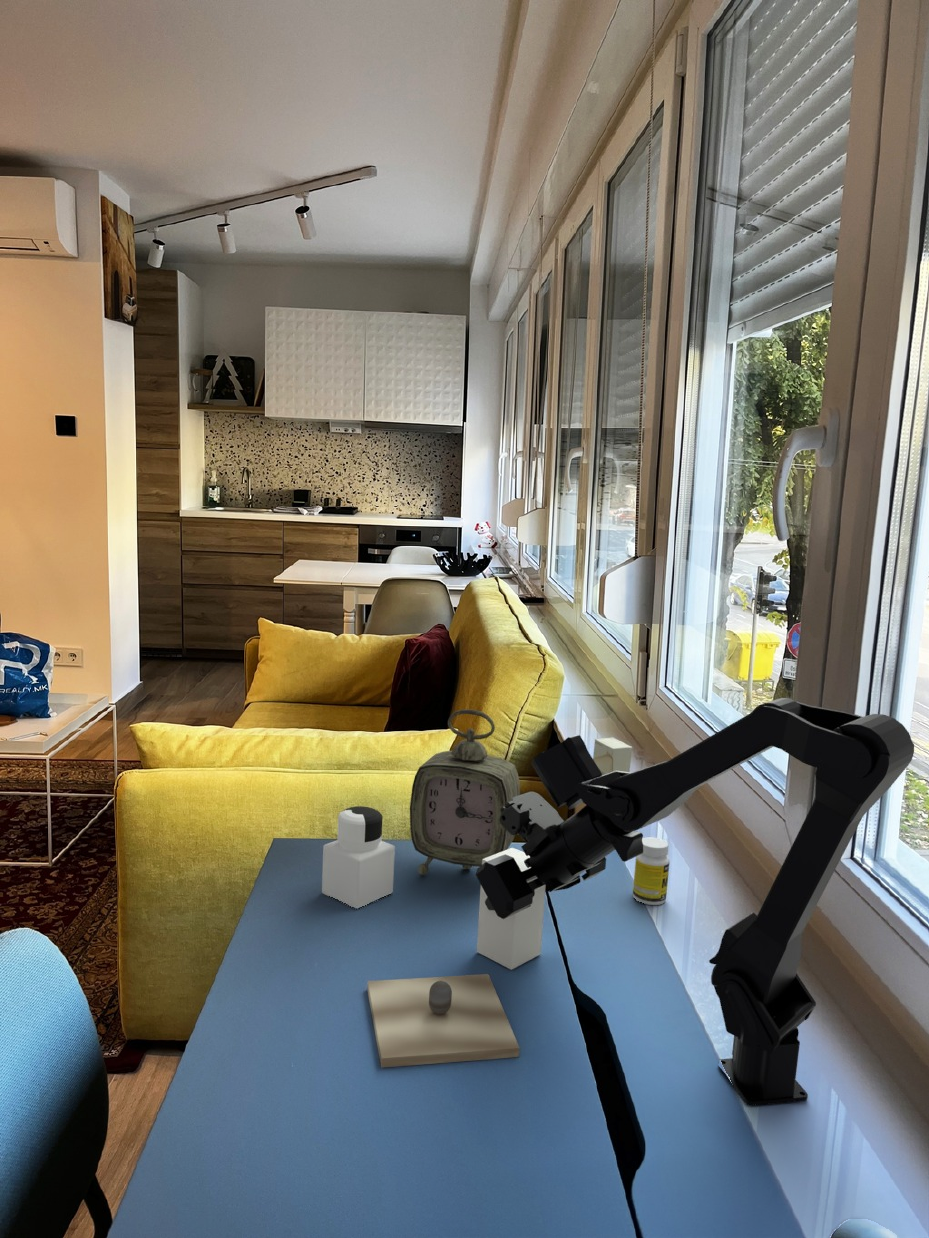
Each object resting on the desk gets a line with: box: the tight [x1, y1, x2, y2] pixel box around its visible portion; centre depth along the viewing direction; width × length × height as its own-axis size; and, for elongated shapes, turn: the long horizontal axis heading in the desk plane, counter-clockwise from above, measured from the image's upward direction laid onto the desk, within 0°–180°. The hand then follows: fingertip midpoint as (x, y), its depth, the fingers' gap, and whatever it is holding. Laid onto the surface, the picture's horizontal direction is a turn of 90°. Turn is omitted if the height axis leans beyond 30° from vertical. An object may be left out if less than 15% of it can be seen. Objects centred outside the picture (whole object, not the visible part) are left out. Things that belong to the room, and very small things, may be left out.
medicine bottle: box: [321, 805, 396, 908], centre depth 126 cm, size 7×7×12 cm
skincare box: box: [592, 737, 633, 776], centre depth 166 cm, size 6×4×12 cm
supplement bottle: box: [632, 836, 671, 906], centre depth 130 cm, size 5×5×8 cm
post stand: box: [366, 973, 520, 1069], centre depth 98 cm, size 14×14×4 cm
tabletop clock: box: [409, 708, 521, 876], centre depth 133 cm, size 14×9×25 cm, turn 73°
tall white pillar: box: [476, 847, 546, 971], centre depth 112 cm, size 6×6×12 cm
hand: (503, 898), depth 113 cm, fingers closed on tall white pillar, 6 cm apart
